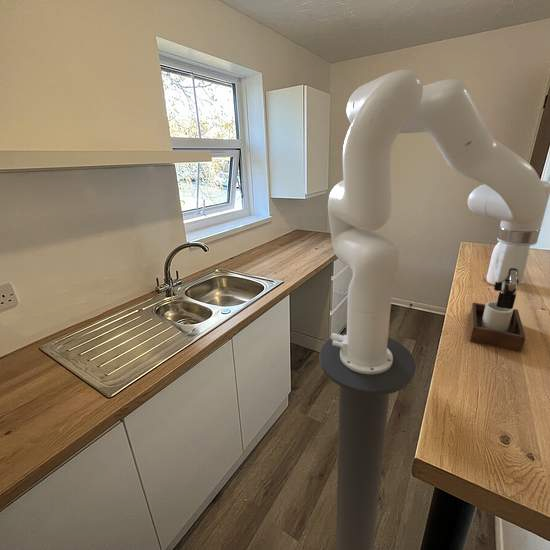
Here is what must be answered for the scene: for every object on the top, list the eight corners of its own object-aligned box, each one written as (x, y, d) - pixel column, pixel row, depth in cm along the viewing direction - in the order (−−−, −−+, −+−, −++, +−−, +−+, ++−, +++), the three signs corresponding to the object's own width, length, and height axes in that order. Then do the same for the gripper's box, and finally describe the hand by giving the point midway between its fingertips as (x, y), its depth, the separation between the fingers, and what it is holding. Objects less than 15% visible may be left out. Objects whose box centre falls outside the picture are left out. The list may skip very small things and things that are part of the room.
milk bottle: (485, 284, 107) (497, 230, 99) (486, 276, 113) (498, 224, 105) (512, 288, 103) (527, 232, 95) (512, 280, 109) (526, 226, 101)
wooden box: (470, 341, 79) (473, 327, 77) (470, 315, 90) (472, 302, 88) (521, 352, 73) (525, 337, 72) (514, 322, 85) (517, 309, 83)
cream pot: (480, 332, 80) (486, 309, 78) (480, 321, 85) (485, 299, 82) (508, 337, 77) (515, 314, 75) (506, 326, 82) (512, 303, 79)
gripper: (496, 225, 80) (484, 283, 86) (501, 244, 66) (486, 311, 73) (532, 226, 76) (516, 287, 83) (545, 247, 63) (525, 318, 69)
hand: (502, 298), depth 78 cm, fingers open, 9 cm apart
